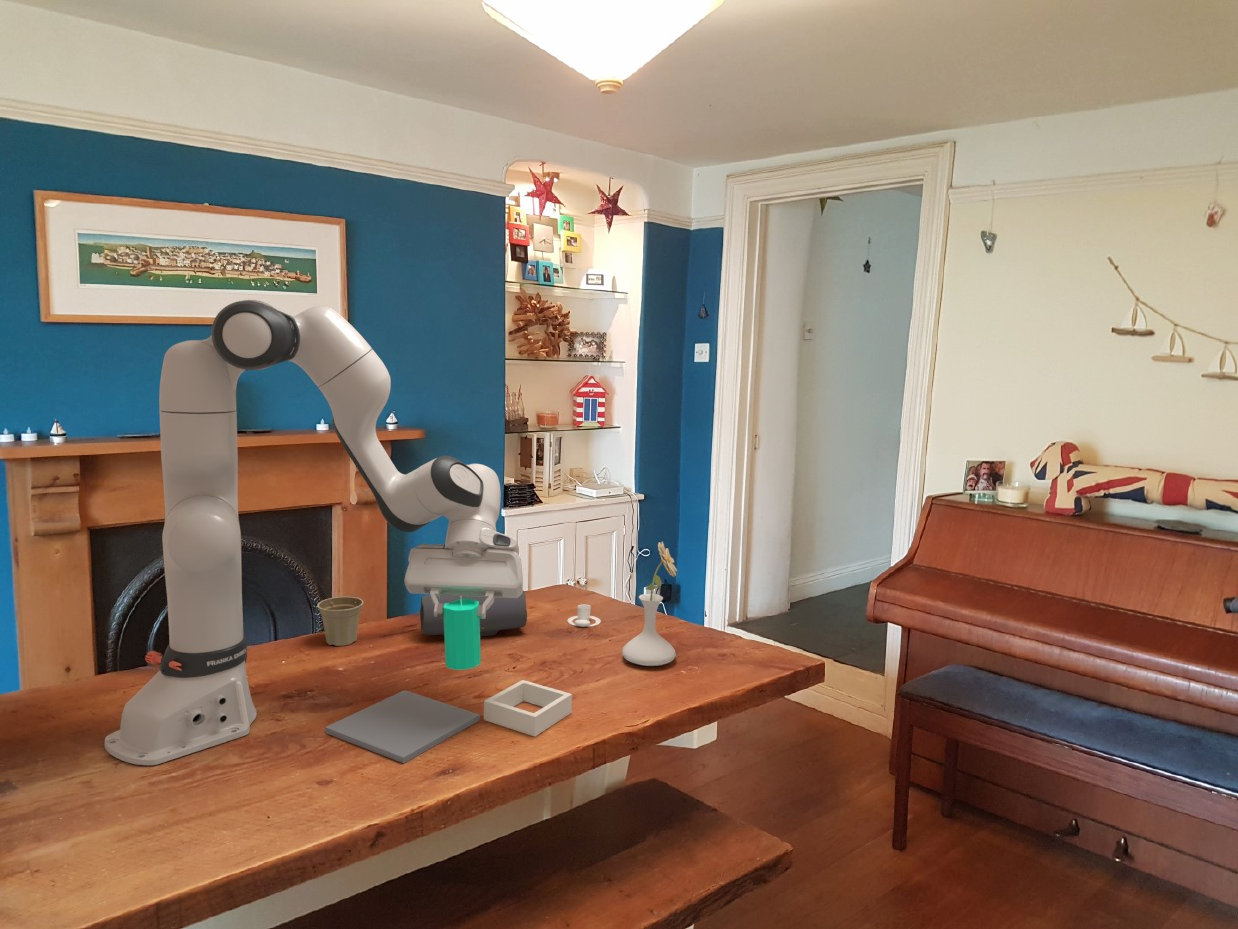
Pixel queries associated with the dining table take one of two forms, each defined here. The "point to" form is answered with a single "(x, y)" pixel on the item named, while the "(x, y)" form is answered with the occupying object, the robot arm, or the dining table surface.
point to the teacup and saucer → (583, 617)
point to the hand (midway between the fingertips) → (459, 616)
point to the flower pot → (340, 619)
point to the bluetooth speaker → (497, 618)
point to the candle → (462, 634)
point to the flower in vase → (652, 625)
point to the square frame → (523, 721)
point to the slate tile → (402, 725)
